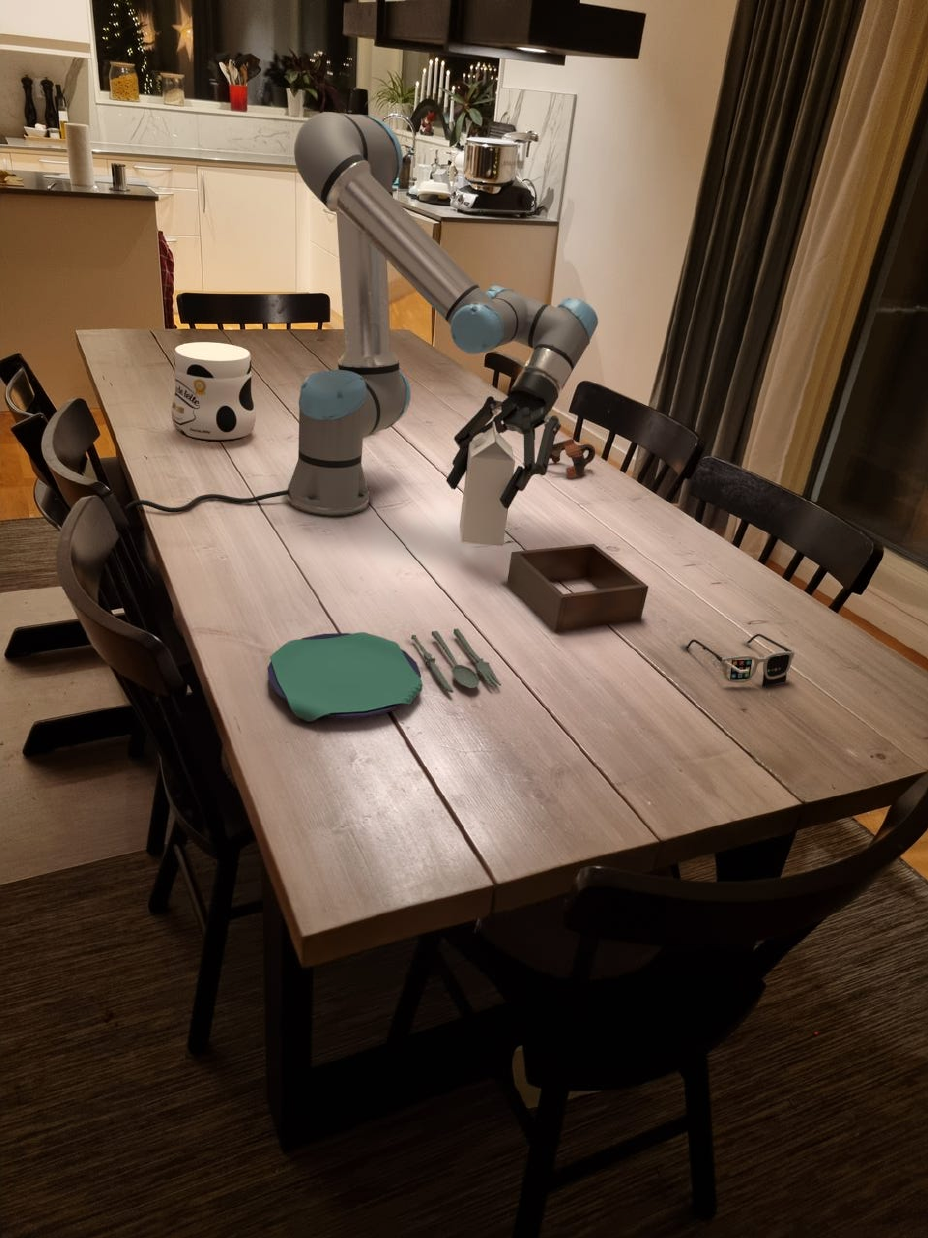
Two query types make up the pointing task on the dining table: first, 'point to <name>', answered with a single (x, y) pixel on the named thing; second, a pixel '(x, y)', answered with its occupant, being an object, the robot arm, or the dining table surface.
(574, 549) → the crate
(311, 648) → the cutlery set
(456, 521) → the dining table surface
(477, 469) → the milk carton
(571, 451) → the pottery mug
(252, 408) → the milk container
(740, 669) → the smart glasses
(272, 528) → the dining table surface
